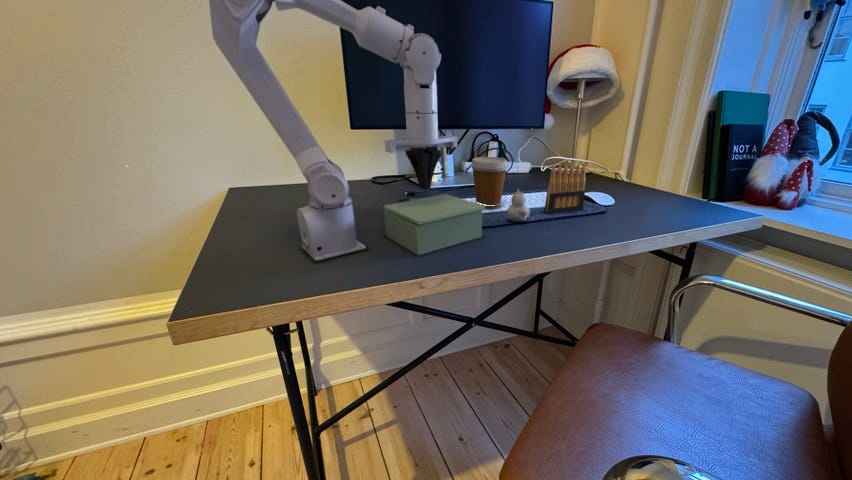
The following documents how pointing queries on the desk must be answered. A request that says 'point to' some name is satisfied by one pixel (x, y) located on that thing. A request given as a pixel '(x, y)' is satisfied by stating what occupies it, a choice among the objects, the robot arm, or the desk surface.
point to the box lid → (433, 208)
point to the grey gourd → (518, 208)
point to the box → (433, 231)
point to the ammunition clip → (566, 189)
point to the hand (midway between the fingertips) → (424, 187)
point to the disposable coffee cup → (489, 180)
